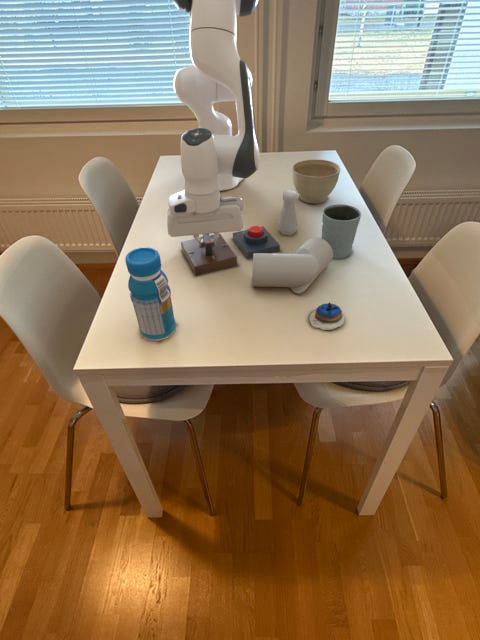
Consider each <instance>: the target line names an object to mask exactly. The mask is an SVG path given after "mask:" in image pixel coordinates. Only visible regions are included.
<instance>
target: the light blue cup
mask: <svg viewBox="0 0 480 640" xmlns="http://www.w3.org/2000/svg"><path fill="white" fill-rule="evenodd" d="M321 217H322V220H321V221H322V225H321V235H320V238H321V239H323V240H325V241H326V242H328V243H329V245H330V246H331V248H332V251H333V258H332V259H335V260H339V259H345V258H347V257H349V256H350V255H351V253H352V250H353V244H354V242H355V238H356V234H357V231H358V227H359V224H360V220H361V217H362V212H361V210H360V209H358V208H357V207H355V206H353V205H349V204H343V203H338V204H337V203H336V204H331V205H328V206H325V207H324V208H323V210H322V216H321Z"/></svg>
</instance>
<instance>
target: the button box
mask: <svg viewBox="0 0 480 640" xmlns="http://www.w3.org/2000/svg"><path fill="white" fill-rule="evenodd" d="M261 227H262V228H263V235H262V236H261V237H251V236H249V228H247V229H244V230H240V231H234V232H232V240H233V241H234V243H235V244H236V245H237V247H238V248H239V250H240V251H241V252H242V253H243V254H244V256H245V257H246V259H247V260H250V259H253V254H254V253H273V254H276V253H279V252H280V251H281V244H280V243H279V242H278V241H277V240H276V239H275V238H274V237H273V236H272V234H271V233H270V232H269V231H268V230H267V229H266V227H264V226H261Z"/></svg>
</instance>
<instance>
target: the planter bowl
mask: <svg viewBox="0 0 480 640" xmlns="http://www.w3.org/2000/svg"><path fill="white" fill-rule="evenodd" d="M341 169H342V168H341V166H340V165H339V164H338V163H336V162H334V161H331V160H327V159H317V158H315V159H313V158H312V159H303V160H300V161H297V162H295V163H294V164H293V165H292V167H291V172H292V182H293V186H294V189H295V191H296V193H297V195H299V199H300V200H301V201H302V202H305V203H308V204H321V203H324V202H326V201H327V200H328V197H329V196H330V195H331V193H332V192H333V191H334V190H335V188H336V186H337V183H338V181H339V177H340V173H341Z"/></svg>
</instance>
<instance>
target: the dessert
mask: <svg viewBox="0 0 480 640" xmlns="http://www.w3.org/2000/svg"><path fill="white" fill-rule="evenodd" d="M308 319H309V323H310V325H311V327H312V328H316V329H320V330H322V331H330V330H335V329H336V328H339V327H341V326H343V325H344V323H345V317H344V316H343V310H342V309H341V308H340V306H339V305H337V304H334V303H331V302H328V303H321V304H320V305H319V306H318V307H317V308H316V309H315V310H313V312H311V313H310V315H309V318H308Z"/></svg>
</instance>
